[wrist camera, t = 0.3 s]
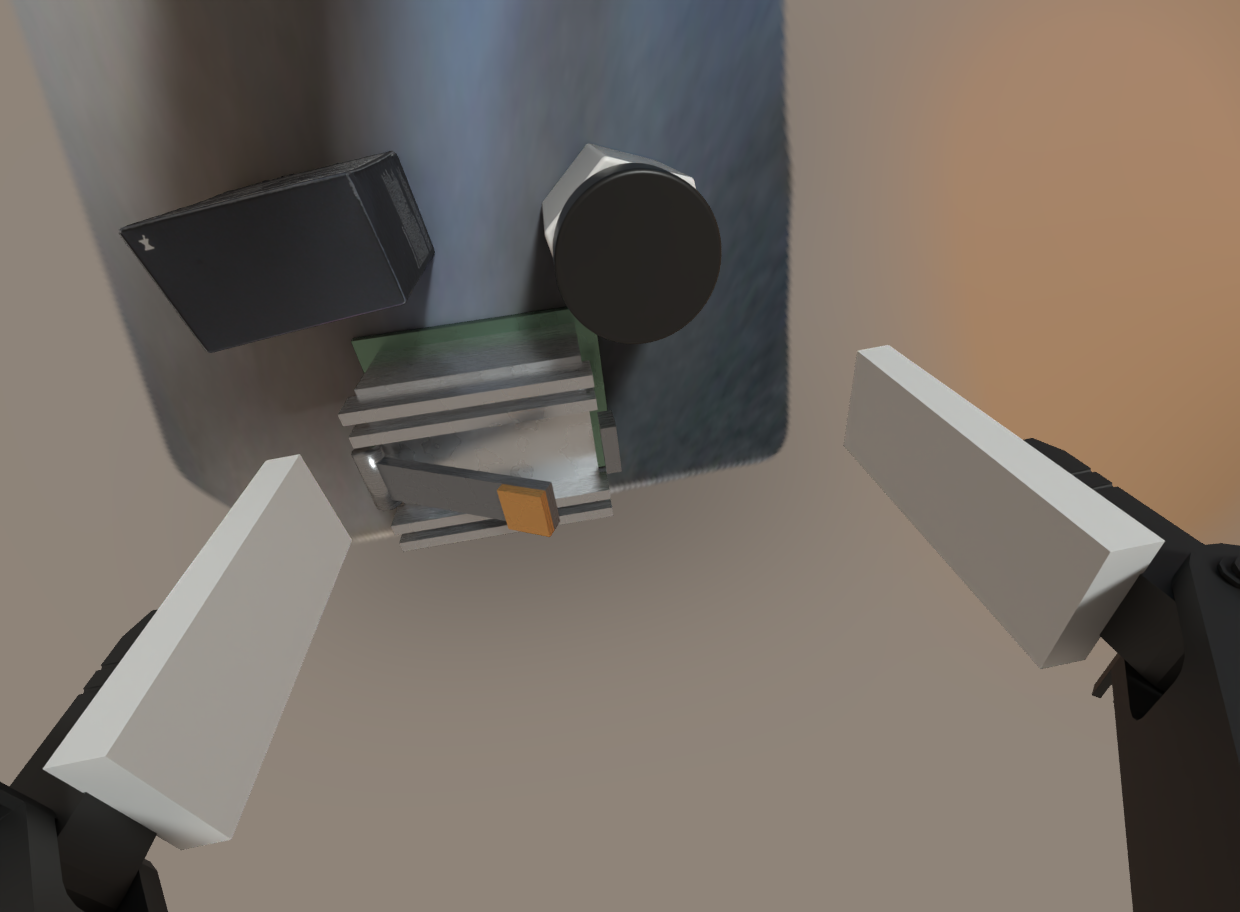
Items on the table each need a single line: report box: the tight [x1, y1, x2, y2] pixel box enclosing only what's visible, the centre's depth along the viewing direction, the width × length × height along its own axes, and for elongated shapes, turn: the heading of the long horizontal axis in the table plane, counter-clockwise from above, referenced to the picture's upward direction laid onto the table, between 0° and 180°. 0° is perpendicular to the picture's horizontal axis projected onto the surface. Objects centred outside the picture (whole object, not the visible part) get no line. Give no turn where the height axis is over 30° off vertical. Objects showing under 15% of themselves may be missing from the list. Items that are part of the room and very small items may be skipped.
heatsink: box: [338, 307, 622, 552], centre depth 37 cm, size 14×17×9 cm
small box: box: [119, 151, 435, 353], centre depth 28 cm, size 11×6×10 cm, turn 102°
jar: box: [542, 144, 721, 344], centre depth 30 cm, size 9×8×12 cm
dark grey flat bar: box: [351, 445, 560, 537], centre depth 33 cm, size 14×4×2 cm, turn 96°
